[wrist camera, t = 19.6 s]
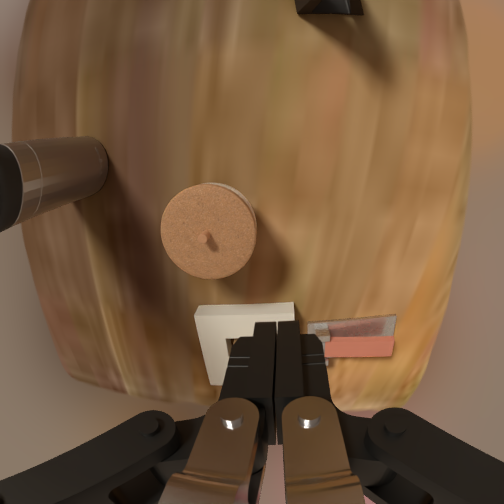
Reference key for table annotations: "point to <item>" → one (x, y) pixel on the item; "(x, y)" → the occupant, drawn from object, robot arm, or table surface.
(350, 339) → the latch lever
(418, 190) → the table surface
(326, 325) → the lever bracket
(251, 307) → the socket block
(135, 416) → the robot arm
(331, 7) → the phone stand
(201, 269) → the lidded jar
